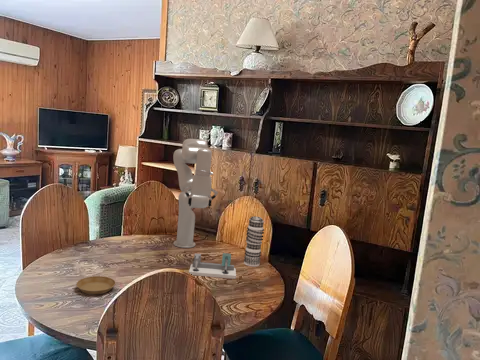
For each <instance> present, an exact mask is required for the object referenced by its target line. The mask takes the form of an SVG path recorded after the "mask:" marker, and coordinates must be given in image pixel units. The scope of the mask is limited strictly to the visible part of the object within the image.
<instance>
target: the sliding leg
mask: <svg viewBox="0 0 480 360" xmlns="http://www.w3.org/2000/svg"><path fill="white" fill-rule="evenodd" d="M231 260H232V253H226V252H223V253H222V259H221V264H222V266H225V271H224V272H227V266H230V265H231Z"/></svg>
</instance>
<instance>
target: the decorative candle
mask: <svg viewBox="0 0 480 360" xmlns="http://www.w3.org/2000/svg"><path fill="white" fill-rule="evenodd" d="M248 220H249V221H248V226H247V227H246V239H245V242H246V246H245V250H244V259H243V264H244V265H245V266H247V267H248V266H249V267H259V266H260V265H261V264H260V263H261V254H262V251H261V250H262V248H261V247H262V244H263V242H262V241H263V240H264V239H263V238H264V234H265V232H264V231H265V228H264V222H265V220H263V218H262V217H261V216H251V217H250V218H249V219H248Z"/></svg>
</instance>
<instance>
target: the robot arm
mask: <svg viewBox="0 0 480 360" xmlns="http://www.w3.org/2000/svg"><path fill="white" fill-rule="evenodd" d="M208 147H209V146H208V142H207V141H206V140H205V139H197V138H187V139H185V140H184V141H183V142H182V148H178V149H176V150H175V151H174V152H173V156H172V157H173V159H172V160H173V164H174V167H175V169H176V172H177V175H178V176H177V177H178V186H179V189H180V191H181V192H180V193H179V194H178V218H177V219H178V220H177V232H176V240H174V241H173V245H174V247H177V248H180V249H181V248H183V249H184V248H186V249H192V248H194V247H195V246H196V242H195V241H194V235H195V226H196V225H195V222H196V214H195V212H194V211H193V209H206V208H208V209H210V208H211V207H212V201H213V200H214V199H215V198H217V195H218V194H219V191H217V190H215V189H214V188H212V176H213V175H214V172H213V171H211V167H212V156H213V151H212V150H211V149H209V148H208ZM188 164H195V169H194V170H195V171H194V174H193V170H192V169H191V168H190V166H189V165H188ZM211 175H212V176H211ZM212 193H214V194H213V195H211V194H212Z"/></svg>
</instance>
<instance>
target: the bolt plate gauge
mask: <svg viewBox="0 0 480 360" xmlns="http://www.w3.org/2000/svg"><path fill="white" fill-rule="evenodd" d="M193 258H194V259H193V261H192V263H191V264H190V268H189V269H188V274H189V273H190V274H192V275H191V276H197V277H198V276H199V277H211V278H219V279H221V278H223V279H233V280H236V277H237V272H236V271H237V270H236V269H237V268H235V265H234V264H230V266H227V272H224V271H225V266H222V263H212V262H204V261H203V262H201V260H202V253H194V256H193Z"/></svg>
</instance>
